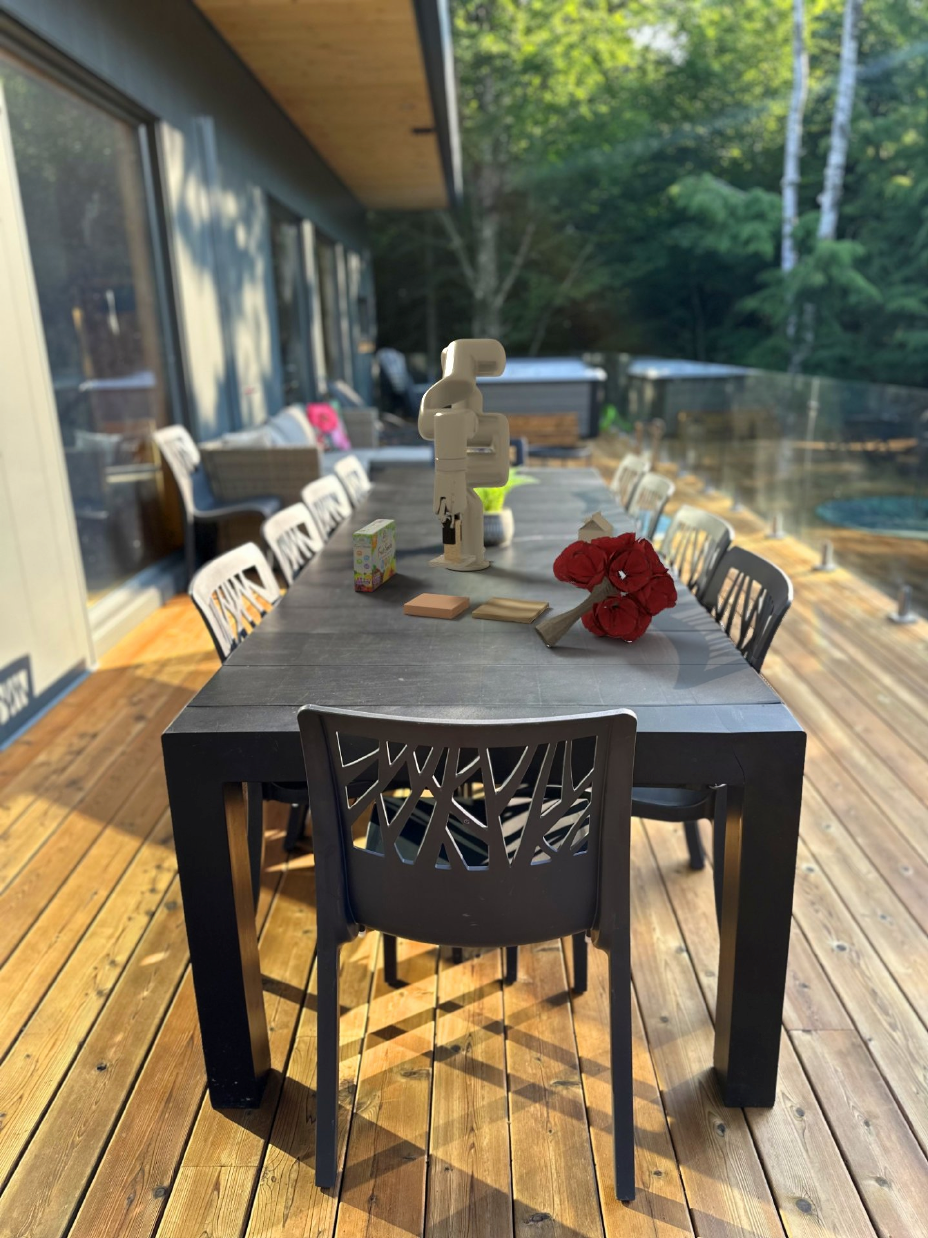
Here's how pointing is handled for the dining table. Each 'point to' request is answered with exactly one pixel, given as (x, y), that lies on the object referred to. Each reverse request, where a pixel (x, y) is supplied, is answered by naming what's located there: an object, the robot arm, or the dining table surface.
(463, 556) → the wooden post on base
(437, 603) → the tile
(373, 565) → the snack box
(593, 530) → the milk carton
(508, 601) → the wooden base plate
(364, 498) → the dining table surface
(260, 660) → the dining table surface
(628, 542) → the bouquet
